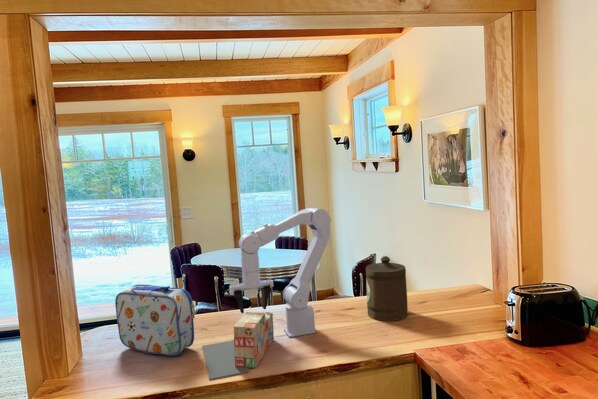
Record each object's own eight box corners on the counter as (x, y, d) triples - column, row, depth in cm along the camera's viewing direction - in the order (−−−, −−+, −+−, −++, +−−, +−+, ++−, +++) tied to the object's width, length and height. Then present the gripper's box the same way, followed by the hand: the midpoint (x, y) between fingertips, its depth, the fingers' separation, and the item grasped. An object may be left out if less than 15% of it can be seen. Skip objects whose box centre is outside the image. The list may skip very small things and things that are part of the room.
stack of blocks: (256, 338, 149) (255, 302, 148) (274, 339, 148) (273, 303, 147) (234, 366, 128) (233, 325, 127) (255, 368, 127) (254, 326, 126)
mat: (235, 341, 148) (235, 339, 148) (248, 372, 125) (248, 371, 125) (202, 346, 145) (202, 345, 145) (209, 380, 122) (209, 378, 122)
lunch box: (203, 347, 145) (198, 281, 143) (184, 361, 135) (179, 291, 133) (137, 339, 155) (132, 277, 153) (115, 351, 145) (109, 286, 143)
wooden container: (378, 305, 176) (375, 251, 174) (413, 311, 167) (411, 254, 165) (360, 317, 164) (358, 259, 162) (398, 324, 155) (395, 262, 154)
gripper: (268, 265, 152) (270, 303, 154) (226, 270, 147) (229, 310, 149) (274, 269, 146) (276, 309, 147) (231, 275, 141) (233, 316, 142)
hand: (253, 310), depth 147 cm, fingers open, 7 cm apart
